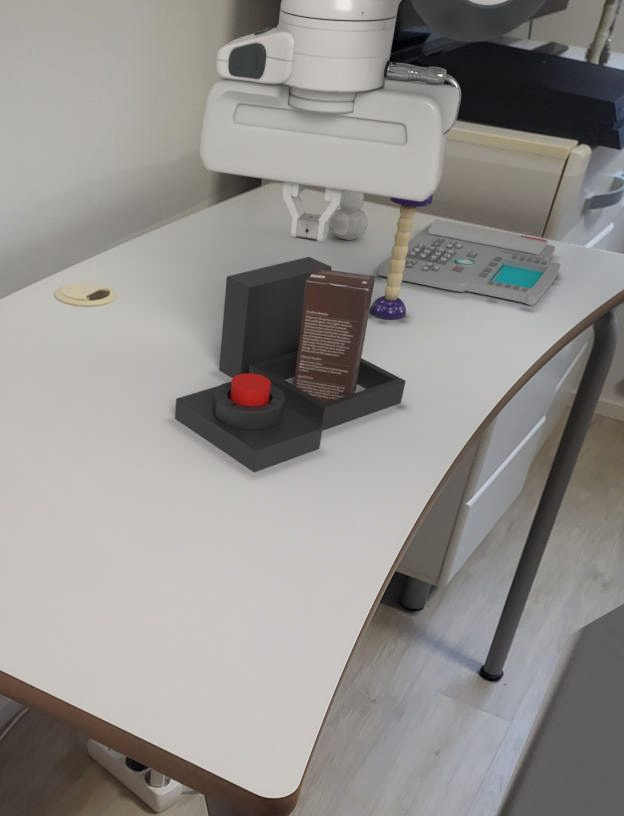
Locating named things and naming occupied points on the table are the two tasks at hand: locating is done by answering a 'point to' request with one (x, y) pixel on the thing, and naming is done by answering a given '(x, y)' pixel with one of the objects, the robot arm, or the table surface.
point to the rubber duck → (349, 217)
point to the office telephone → (479, 262)
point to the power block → (249, 427)
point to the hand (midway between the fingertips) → (308, 238)
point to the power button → (250, 389)
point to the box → (332, 333)
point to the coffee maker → (290, 343)
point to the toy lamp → (398, 262)
